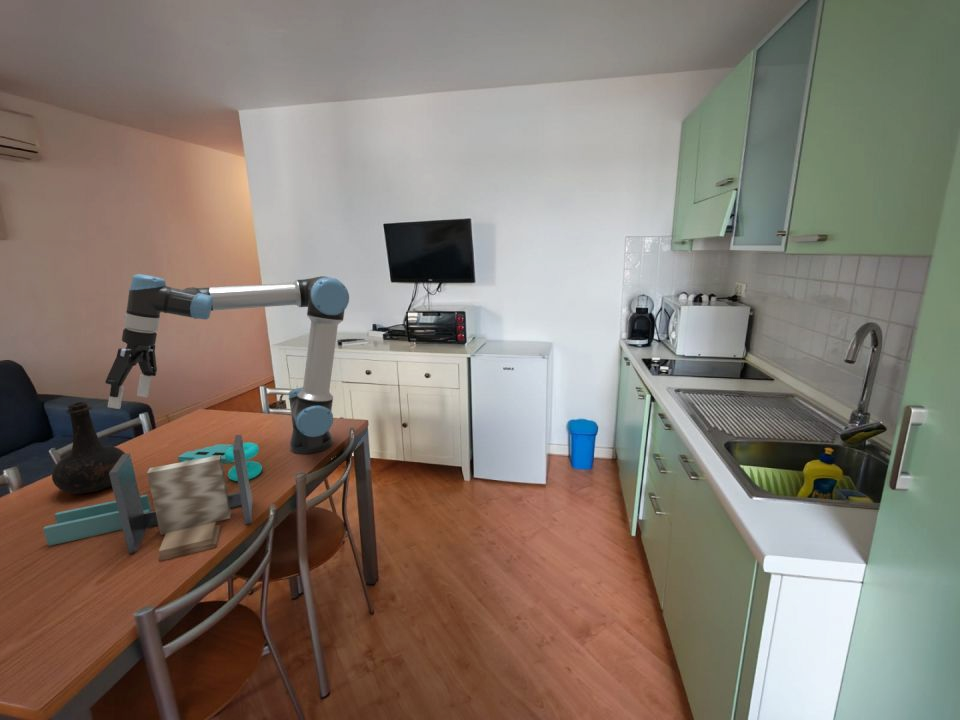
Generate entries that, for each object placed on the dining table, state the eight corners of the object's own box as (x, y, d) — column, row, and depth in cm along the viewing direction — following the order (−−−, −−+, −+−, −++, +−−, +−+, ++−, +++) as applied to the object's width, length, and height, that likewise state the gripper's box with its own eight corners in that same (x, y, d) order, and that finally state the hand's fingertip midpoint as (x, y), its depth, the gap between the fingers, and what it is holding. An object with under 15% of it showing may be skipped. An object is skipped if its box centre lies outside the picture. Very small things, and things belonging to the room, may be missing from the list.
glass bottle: (42, 505, 127) (16, 417, 121) (81, 476, 144) (60, 397, 138) (112, 497, 131) (91, 411, 125) (142, 469, 148) (125, 392, 141)
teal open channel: (151, 509, 125) (147, 494, 124) (144, 524, 118) (140, 508, 117) (61, 528, 116) (56, 512, 115) (48, 546, 110) (43, 528, 108)
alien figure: (213, 477, 143) (250, 450, 163) (212, 471, 143) (249, 445, 162) (158, 474, 145) (201, 448, 165) (157, 469, 145) (200, 443, 164)
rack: (252, 501, 128) (241, 433, 123) (251, 523, 118) (239, 449, 112) (141, 526, 117) (123, 452, 111) (128, 553, 106) (108, 473, 101)
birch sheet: (230, 512, 123) (220, 455, 118) (230, 518, 120) (219, 459, 116) (163, 528, 116) (149, 468, 112) (160, 534, 113) (146, 473, 109)
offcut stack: (221, 529, 116) (219, 519, 115) (216, 548, 108) (215, 538, 108) (167, 542, 111) (165, 531, 111) (159, 562, 104) (157, 552, 103)
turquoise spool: (251, 438, 148) (263, 446, 141) (255, 464, 151) (267, 474, 144) (219, 448, 141) (230, 457, 134) (224, 475, 143) (235, 486, 137)
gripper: (150, 323, 133) (139, 389, 135) (95, 330, 108) (83, 410, 110) (177, 329, 134) (165, 394, 136) (129, 336, 110) (116, 415, 112)
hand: (128, 401), depth 123 cm, fingers open, 13 cm apart
